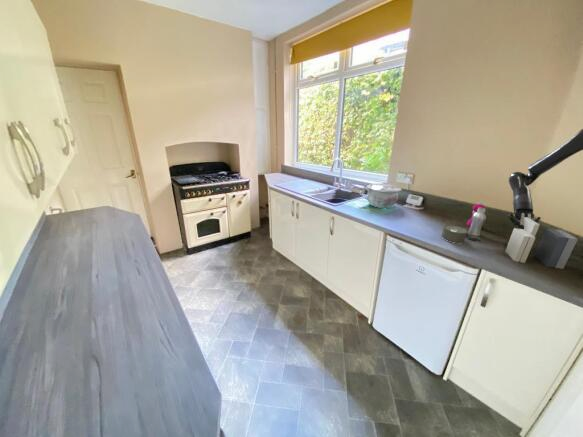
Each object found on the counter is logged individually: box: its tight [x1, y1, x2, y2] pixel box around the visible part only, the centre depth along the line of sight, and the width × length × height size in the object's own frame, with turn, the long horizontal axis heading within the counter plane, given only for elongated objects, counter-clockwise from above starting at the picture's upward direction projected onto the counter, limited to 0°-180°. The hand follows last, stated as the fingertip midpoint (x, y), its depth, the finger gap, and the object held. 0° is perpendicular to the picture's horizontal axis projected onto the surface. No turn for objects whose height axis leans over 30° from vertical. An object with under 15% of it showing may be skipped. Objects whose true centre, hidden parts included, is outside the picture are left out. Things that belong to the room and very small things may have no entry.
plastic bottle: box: [466, 207, 487, 242], centre depth 139 cm, size 6×7×20 cm
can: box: [441, 224, 468, 244], centre depth 141 cm, size 12×12×7 cm
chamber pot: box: [360, 182, 402, 209], centre depth 198 cm, size 28×28×21 cm
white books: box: [504, 227, 536, 264], centre depth 121 cm, size 4×11×14 cm, turn 159°
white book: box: [523, 217, 541, 238], centre depth 123 cm, size 2×11×14 cm, turn 159°
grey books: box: [533, 228, 578, 270], centre depth 116 cm, size 6×11×16 cm, turn 158°
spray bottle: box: [466, 201, 486, 227], centre depth 151 cm, size 7×7×20 cm
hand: (525, 232), depth 124 cm, fingers closed on white book, 2 cm apart
